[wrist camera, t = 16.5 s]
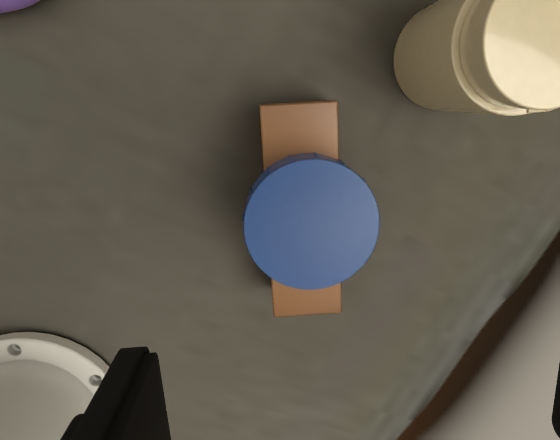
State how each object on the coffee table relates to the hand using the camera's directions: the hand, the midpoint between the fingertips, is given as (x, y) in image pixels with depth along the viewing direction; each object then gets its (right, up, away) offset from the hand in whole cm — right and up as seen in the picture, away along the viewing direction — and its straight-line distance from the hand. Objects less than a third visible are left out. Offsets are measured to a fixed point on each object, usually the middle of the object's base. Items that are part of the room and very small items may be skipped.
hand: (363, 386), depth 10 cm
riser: (-1, +5, +17) cm, 18 cm away
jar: (+8, +13, +15) cm, 22 cm away
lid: (0, +4, +12) cm, 12 cm away
